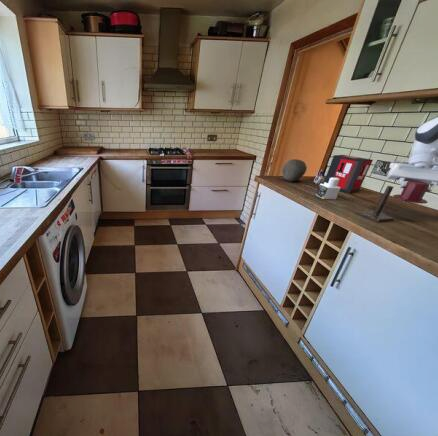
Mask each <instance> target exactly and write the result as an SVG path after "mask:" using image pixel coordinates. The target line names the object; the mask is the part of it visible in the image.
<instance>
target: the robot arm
mask: <svg viewBox="0 0 438 436" xmlns="http://www.w3.org/2000/svg"><path fill="white" fill-rule="evenodd" d="M414 138H415V139H414V141H413V143H412V146H411V149H410V156H409V158H408V160H407V162H406V161H392V162H390V163H389V165H388V168H389V170H388V172H387V174H386V178H387V179H388V180H393V181H397V182H398V183H399V185H400V189H405V188H406V185H407V184H406V183H407V182H408V181H420V182H425V183H428V184H429V187H428V189H427V191H426V192H425V193H431V192H432V191H433V188H435V187H436V186H438V115H437V116H434V117H432V118H431V119H429V120H427V121H424V123H422V124H420V125H419V126H418V127H417V129H416V131H415V134H414ZM405 182H406V183H405Z"/></svg>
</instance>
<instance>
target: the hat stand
mask: <svg viewBox="0 0 438 436" xmlns="http://www.w3.org/2000/svg"><path fill="white" fill-rule="evenodd" d="M393 190H394V186H392V185H387V186H386V188H385V189H384V192H383V194H382V196H381V198H380V200H379V201H378V203H377V206H376V207H375V210H364V211H362V210H361V211H358V212H357V215H359V216H362V217H365V218H367V219H370V220H372V221H374V222H376V223H377V222H378V223H382V222H393V221H394V220H395V217H392V216H389V215H386V214H383V213H382V211H383V208H384V207H385V204H386V203H387V202H388V199H389V197H390V195H391V193H392V192H393Z"/></svg>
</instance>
